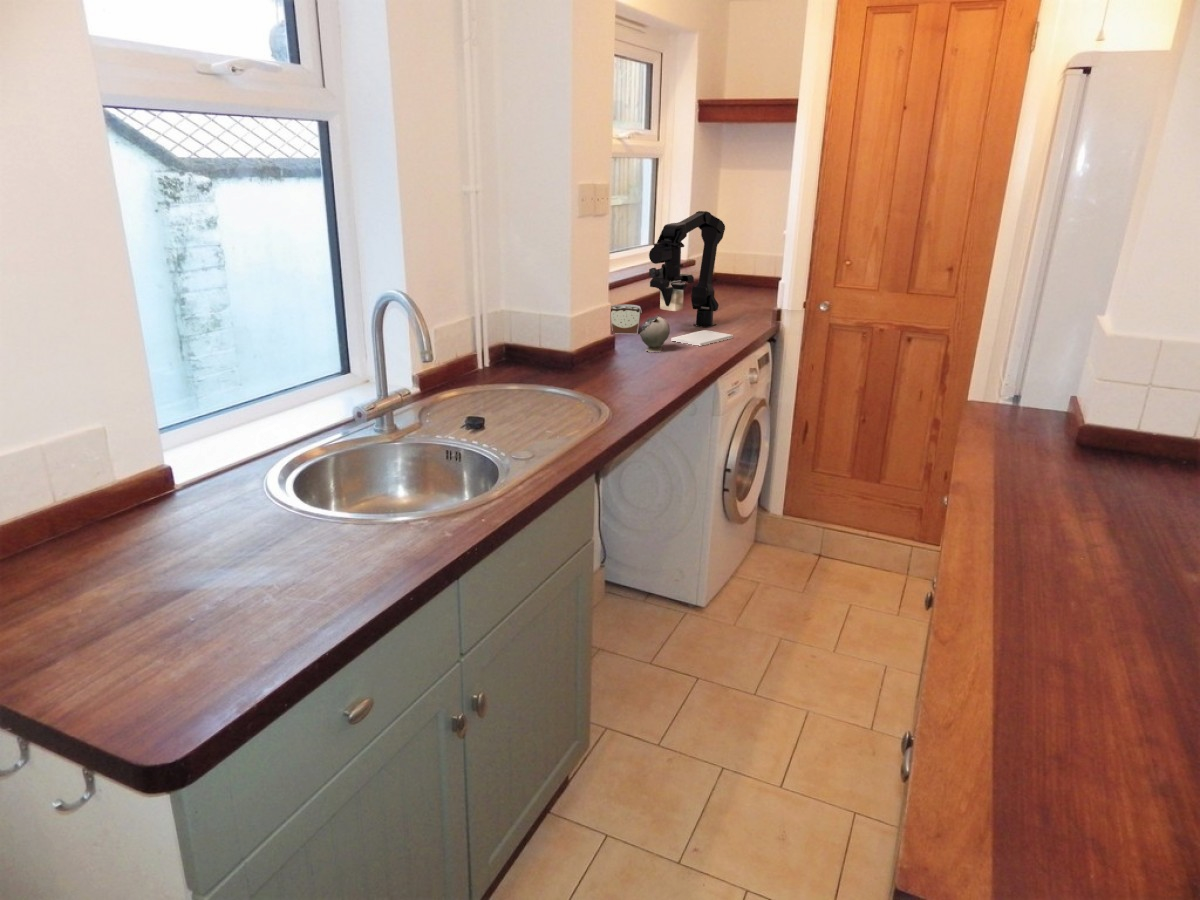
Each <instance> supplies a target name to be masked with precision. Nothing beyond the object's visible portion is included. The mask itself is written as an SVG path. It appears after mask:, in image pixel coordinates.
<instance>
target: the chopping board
mask: <svg viewBox="0 0 1200 900" xmlns="http://www.w3.org/2000/svg"><path fill="white" fill-rule="evenodd" d="M733 338H734V335H733V334H729V333H724V332H718V331H712V330H706V329H703V330H700V331H698V330H697V331H693V332H690V333H686V334H682V335H678V336H673V337H670V339H671V340H670V342H672V341H676V342H675V343H677V342H681V343H680V344H683V343H688V344H692V345H691V346H693V345H699V346H702V345H706V344H709V345H711V344H710V343H713V344H715V343H714V342H717V343H719V341H721V342H724V341H727V339H728V340H731V339H733ZM723 340H724V341H723ZM688 344H687V345H688ZM706 346H707V345H706ZM702 347H703V346H702Z"/></svg>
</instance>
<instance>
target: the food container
mask: <svg viewBox="0 0 1200 900" xmlns="http://www.w3.org/2000/svg"><path fill="white" fill-rule="evenodd" d="M611 307H612V309H611V316H610V323H611V332H612V331H613V333H615V334H614V335H639V333H638V332H639V326H640V325H639V324H640V316H641V314H642V313H643V312H642V308H641V306H640V305H637V304H613V305H611Z"/></svg>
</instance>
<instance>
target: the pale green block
mask: <svg viewBox="0 0 1200 900" xmlns="http://www.w3.org/2000/svg"><path fill="white" fill-rule="evenodd" d="M659 291H660V290H659ZM659 294H660V295H659V298H660V299H659V301H660V302H659V303H660V304H659V309H660V310H664V311H671V312H678V311H682V310H684V292H683V290H679V289H673V292H672V296H671V300H670V304H669V306H666V304H665V301H664V298H663V295H662V292H661V291H660V293H659Z"/></svg>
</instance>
